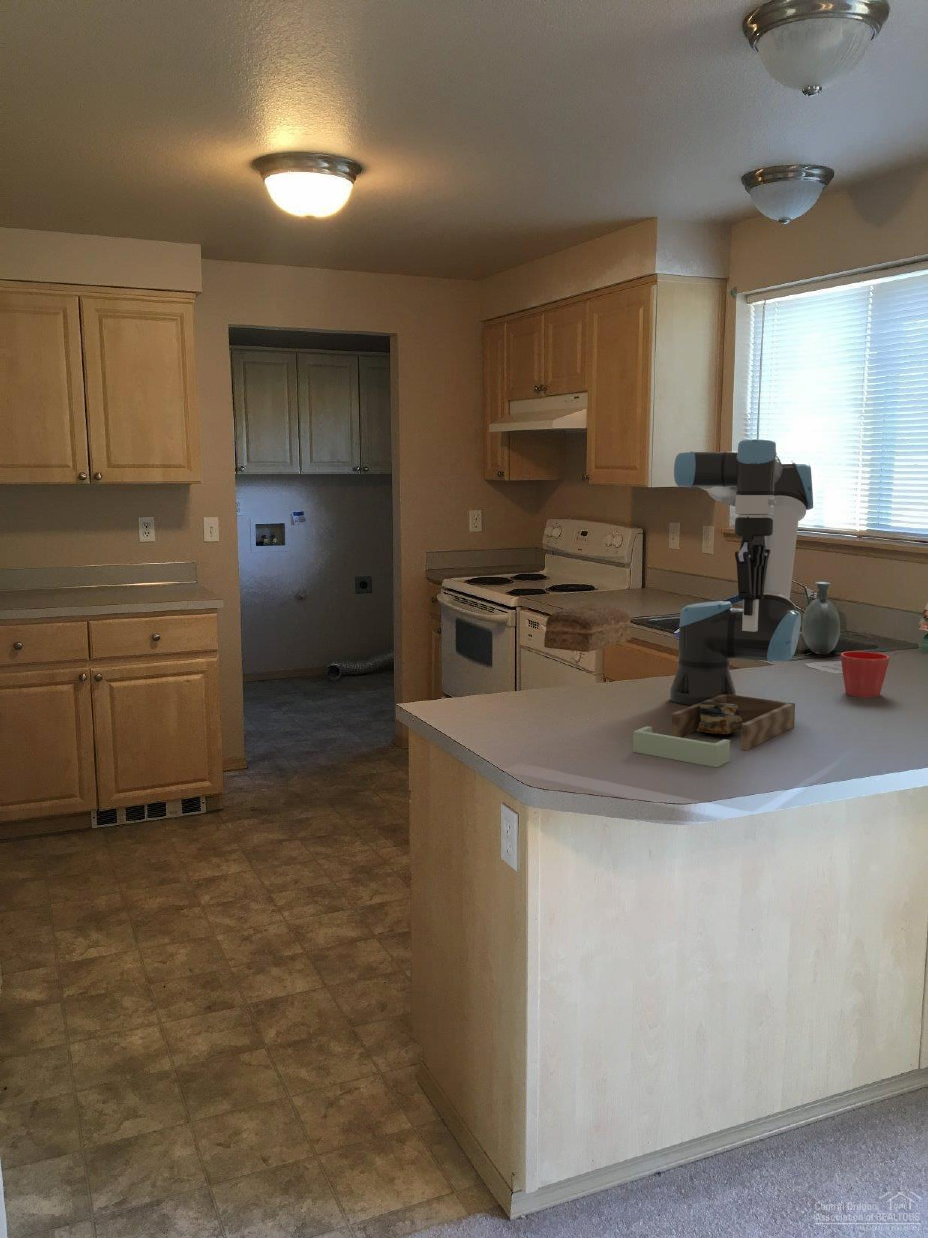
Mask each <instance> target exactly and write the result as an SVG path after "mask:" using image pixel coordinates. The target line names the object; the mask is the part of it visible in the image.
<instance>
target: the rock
mask: <svg viewBox="0 0 928 1238" xmlns="http://www.w3.org/2000/svg"><path fill="white" fill-rule="evenodd" d="M700 713H701V722H700V723H699V727H698V729H697V730H696V732H701V733H708V734H716V735H717V734H719V735H729V734H731V733H735V732H736V731H739V730H741V724H743V720H742V718H741V717H740V716H739V710H738V705H736V704H726V703H714V702H701V703H700Z"/></svg>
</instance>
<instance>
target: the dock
mask: <svg viewBox="0 0 928 1238" xmlns="http://www.w3.org/2000/svg"><path fill="white" fill-rule="evenodd" d="M632 735H633V736H632V737H633V739H632V752H633V753H637V754H643V755H647V756H653V757H659V758H665V759H669V760H675V761H680V762H681V761H682V762H687V763H691V764H695V765H696V764H697V765H701V766H702V765H703V766H706V767H712V768H718V767H721V766H723V765H725V764H727V763H729V762H730V754H731V753H730V751H731V750H730V749H731V740H730V739H725V738H724V739H722V740H719V741H717V742H715V743H714V742H708V741H703V740H696V739H690V738H684V737H674V736H671V735H667V734H662V733H661V734H660V733H655V732H653V727H652V726H649V725H646V726H644V727H642V728H638V729H636V730H634V731H633V734H632Z"/></svg>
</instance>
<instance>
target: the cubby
mask: <svg viewBox="0 0 928 1238" xmlns="http://www.w3.org/2000/svg"><path fill="white" fill-rule="evenodd" d="M703 702H714V703H726V704H736V705H738V710H739V716H740V717H741V718H742V721H746V722H742V724H741V729H740V731H741V732H740V733H741V734H740V751H741V750H742V751H746V752H747V751H749V750H751V749H753V748H754V747H757V746H758V745H761V744H762V743H764V742H767V741H769V740H770V739H773V738H775V737H776V736H779V735H781V734H782V733H784V732H787V731H789V730H791V729H793V728H794V727H795V719H796V716H795V715H796V703H795V702H787V701H780V700H772V699H767V698H766V699H764V698H758V697H751V696H742V695H737V694H736V695H730V694H722V695H719V696H717V697H714V698H711V699H709V700H706V701H703ZM700 722H701V713H700V703H698V704H695V705H693V706H692V705H689V706H688V707H685V708H682V709H680V710H677V711H675V712H672V713H671V731H670V733H671V735H670V736H674V737H680V738H683V736H686V735H688V734H691V733H693V732H695V731H696V732H697V729H698V727H699V723H700Z"/></svg>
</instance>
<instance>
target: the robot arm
mask: <svg viewBox="0 0 928 1238" xmlns="http://www.w3.org/2000/svg"><path fill="white" fill-rule="evenodd" d="M812 475H813V474H812V467H811V465H810V464H809V463H808V462H805V461H794V460H791V461H782V460H780V458H779V457H778V455H777V443H776V441H775V440H773V439H761V438H760V439H743V440H741V441H739V443H738V445H737V451H690V452H689V451H687V452H679V453H678V454H677V455H676V456H675V460H674V465H673V477H674V478H673V479H674V482H675V484H676V486H678V487H683V488H684V487H685V488H699V489H702V490H704V491H706V492H707V493H708V495H709V496H710V498H712V499H713V500H715V501H717V502H718V503H722V504H725V505H727V506H731V507H734V509H735V510H734V513H735V515H737V516H736V518H734V535H736V536H739V537H741V541H740V547H739V548H740V549H739V551H735V552H734V558H735V562H736V575H737V590H738V597H737V598H738V599H739V600H742V601H743V602H742V608H734V607H733V604H732V602H731V601H723V600H720V601H707V602H697V603H692V604H688V605H685V606H684V607H683V608H682V609H681V610H680V614H679V624H678V628H679V630H678V631H679V633H678V635H679V637H678V639H679V640H678V641H679V643H678V667H677V671H676V673H675V675H674V676H675V677H674V679H673V681H672V684H671V688H670V691H669V693H670V695H669V699H670V701H672V702H674V703H677V704H681V705H687V706H693V705H695V704H698V703H701V702H703V701H706V700H709V699H711V698H714V697H717V696H719V695H722V694H730V695H737V691H736V687H735V684H734V680H733V678H732V675H731V671H730V659H736V660H737V659H738V660H749V661H750V660H751V661H764V662H765V661H766V662H767V661H768V662H769V663H772V662H787V661H790V660H791V659H792V658H793V657H794V655H795V653H796V650H797V646H798V642H799V638H800V633H801V632H800V631H801V628H802V615H801V613H800V611H797V610H796V606H795V603H794V602H793V601H792V600H791V590H792V580H793V574H794V573H793V572H794V564H795V556H796V555H795V554H796V546H797V538H798V537H797V536H798V530H799V522H800V521H802V520H803V519H804V518H805V516H806V514H807V511H809V510H812V509H814V495H813V493H814V492H813V480H812V479H813V476H812Z"/></svg>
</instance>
